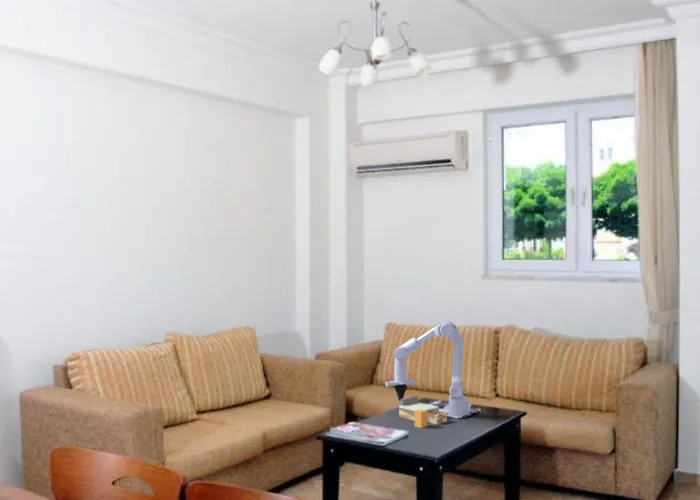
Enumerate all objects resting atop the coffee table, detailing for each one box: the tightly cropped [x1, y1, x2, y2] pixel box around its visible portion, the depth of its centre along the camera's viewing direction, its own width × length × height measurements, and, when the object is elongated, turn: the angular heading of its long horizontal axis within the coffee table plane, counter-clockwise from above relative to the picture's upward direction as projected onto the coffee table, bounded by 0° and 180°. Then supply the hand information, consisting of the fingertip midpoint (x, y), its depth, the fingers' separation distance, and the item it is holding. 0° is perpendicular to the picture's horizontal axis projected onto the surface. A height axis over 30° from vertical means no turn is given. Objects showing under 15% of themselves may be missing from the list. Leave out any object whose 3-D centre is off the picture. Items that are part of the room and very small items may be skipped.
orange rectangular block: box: [414, 409, 428, 429], centre depth 324 cm, size 4×4×7 cm
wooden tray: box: [398, 408, 448, 425], centre depth 337 cm, size 12×21×4 cm, turn 41°
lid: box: [398, 395, 440, 411], centre depth 340 cm, size 12×14×4 cm
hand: (400, 400), depth 349 cm, fingers closed
